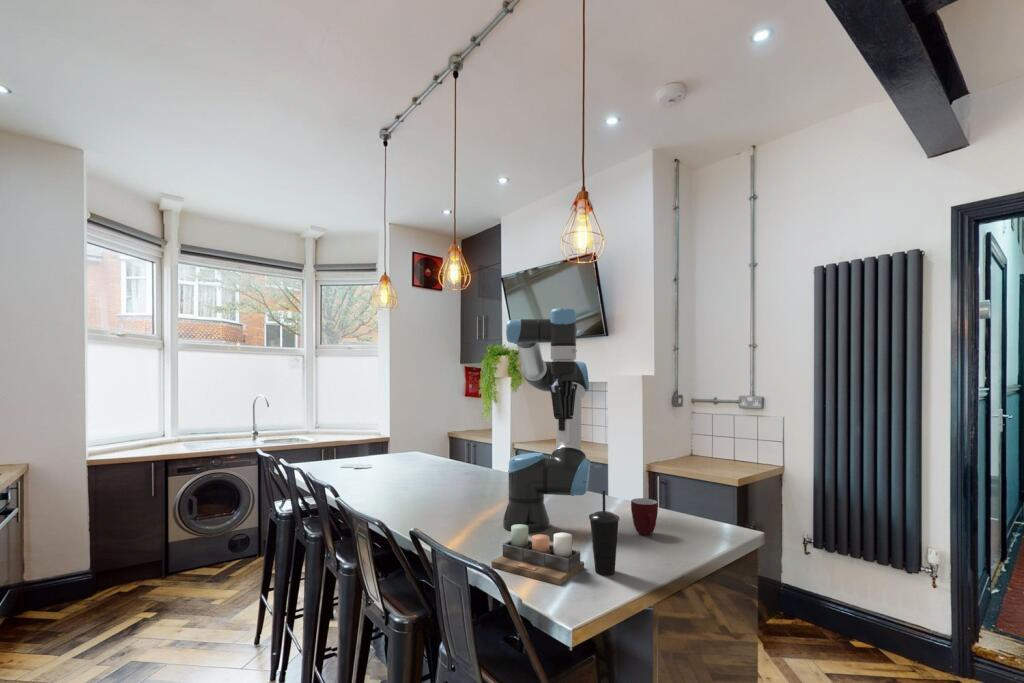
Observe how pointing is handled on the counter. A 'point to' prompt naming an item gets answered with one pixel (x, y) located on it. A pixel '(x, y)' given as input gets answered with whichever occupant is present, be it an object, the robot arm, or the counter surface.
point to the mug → (644, 515)
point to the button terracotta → (540, 543)
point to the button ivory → (563, 545)
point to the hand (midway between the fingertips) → (564, 441)
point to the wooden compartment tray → (538, 563)
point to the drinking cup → (604, 540)
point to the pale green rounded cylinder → (519, 535)
